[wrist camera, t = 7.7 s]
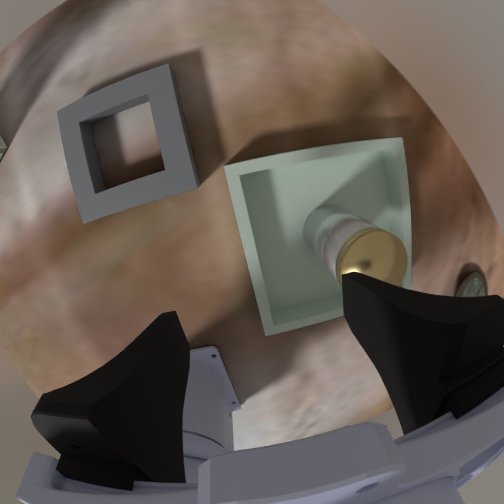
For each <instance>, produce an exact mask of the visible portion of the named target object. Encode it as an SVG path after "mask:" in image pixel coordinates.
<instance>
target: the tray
mask: <svg viewBox="0 0 504 504" xmlns="http://www.w3.org/2000/svg"><path fill="white" fill-rule="evenodd" d="M224 169H225V173H226V178H227V182H228V186H229V190H230V194H231V198H232V203H233V207H234V211H235V215H236V219H237V223H238V227H239V231H240V235H241V240H242V244H243V248H244V252H245V256H246V260H247V264H248V268H249V272H250V276H251V280H252V284H253V288H254V292H255V296H256V300H257V304H258V308H259V312H260V316H261V320H262V324H263V328H264V332H265V336H269V335H274V334H278V333H282V332H286V331H290V330H294V329H298V328H302V327H305V326H309V325H313V324H316V323H320V322H324V321H327V320H331V319H334V318H337V317H341V316H344V314H343V294H342V287H341V286H340V285H339V283H338V282H337V281H336V280H335V278H334V277H333V276H332V275H331V274H330V272H329V271H328V270H327V269H326V267H325V266H324V265H323V264H322V263H321V261H320V260H319V259H318V258H317V256H316V255H315V254H314V253H313V252H312V250H311V249H310V248H309V247H308V246H307V244H306V242H305V240H304V236H303V227H304V223H305V220H306V219H307V217H308V215H309V214H310V213H311V212H312V211H313V210H314V209H316V208H317V207H319V206H322V205H326V204H332V205H337V206H339V207H341V208H343V209H345V210H347V211H349V212H351V213H353V214H355V215H357V216H359V217H361V218H363V219H365V220H367V221H369V222H371V223H373V224H374V225H376V226H378V227H380V228H382V229H384V230H386V231H388V232H389V233H391V234H393V235H395V236H396V237H398V238H399V239H400V240H401V241H402V243H403V244H404V246H405V248H406V251H407V257H408V264H407V270H406V274H405V277H404V279H403V281H402V282H401V284H400V286H399V287H403V288H406V289H409V290H411V264H412V238H411V211H410V196H409V184H408V175H407V166H406V158H405V151H404V144H403V138H402V137H395V138H379V139H370V140H361V141H352V142H345V143H337V144H330V145H324V146H317V147H311V148H305V149H299V150H294V151H288V152H283V153H278V154H273V155H268V156H263V157H258V158H253V159H249V160H244V161H240V162H235V163H231V164H227V165H224Z"/></svg>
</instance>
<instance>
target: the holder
mask: <svg viewBox="0 0 504 504" xmlns="http://www.w3.org/2000/svg"><path fill="white" fill-rule="evenodd" d="M148 101H150V106H151V110H152V115H153V120H154V124H155V129H156V133H157V137H158V142H159V146H160V150H161V154H162V158H163V162H164V166H165V170H164V171H161V172H157V173H154V174H151V175H148V176H145V177H142V178H139V179H136V180H133V181H130V182H127V183H124V184H121V185H118V186H116V187H113V188H110V189H107V190H106V188H105V184H104V180H103V176H102V173H101V169H100V164H99V160H98V156H97V152H96V147H95V142H94V138H93V133H92V128H91V124H93V123H95V122H97V121H100V120H102V119H104V118H107V117H109V116H111V115H114V114H116V113H119V112H121V111H124V110H126V109H129V108H132V107H134V106H137V105H140V104H142V103H145V102H148ZM57 113H58V120H59V126H60V132H61V138H62V143H63V148H64V153H65V158H66V162H67V167H68V171H69V175H70V179H71V183H72V187H73V191H74V195H75V198H76V202H77V205H78V208H79V212H80V215H81V218H82V221H83V224H85V223H87V222H90V221H93V220H96V219H99V218H102V217H105V216H107V215H110V214H113V213H116V212H119V211H123V210H126V209H129V208H132V207H135V206H138V205H141V204H145V203H148V202H151V201H155V200H158V199H161V198H165V197H168V196H172V195H175V194H179V193H182V192H186V191H190V190H193V189H197V188H198V187H199V186H200V181H199V177H198V173H197V169H196V165H195V161H194V157H193V153H192V149H191V145H190V141H189V136H188V132H187V128H186V124H185V119H184V115H183V111H182V106H181V102H180V97H179V93H178V88H177V83H176V79H175V74H174V71H173V69H172V68H171V66H170V65H169V64H165V65H162V66H159V67H156V68H153V69H150V70H147V71H144V72H142V73H139V74H136V75H133V76H131V77H128V78H126V79H123V80H121V81H118V82H116V83H114V84H111V85H109V86H107V87H104V88H102V89H100V90H98V91H96V92H93V93H91V94H89V95H87V96H85V97H83V98H81V99H79V100H77V101H75V102H73V103H71V104H70V105H68V106H66V107H64V108H62V109H60V110H59V111H57Z"/></svg>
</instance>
